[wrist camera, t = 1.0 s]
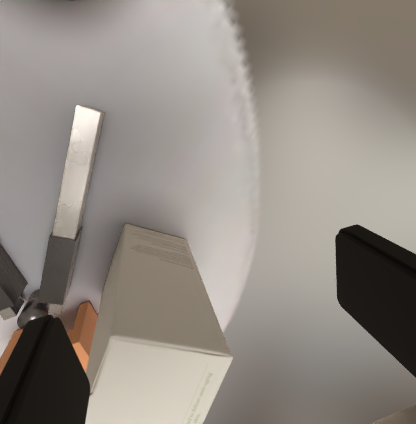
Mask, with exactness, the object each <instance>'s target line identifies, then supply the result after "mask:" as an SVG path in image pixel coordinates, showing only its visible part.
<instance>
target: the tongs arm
mask: <svg viewBox="0 0 416 424" xmlns="http://www.w3.org/2000/svg"><path fill="white" fill-rule="evenodd" d="M103 116H104V112H102V111H99V110H95V109H92V108H89V107H86V106H81V105H76V110H75V115H74V121H73V126H72V132H71V137H70V143H69V148H68V153H67V159H66V164H65V170H64V175H63V180H62V186H61V191H60V197H59V202H58V208H57V213H56V218H55V224H54V229H53V232H52V233H51V235H50V237H49V243H48V248H47V253H46V259H45V264H44V270H43V275H42V281H41V286H40V292H39V297H38V302H40V303H49V304H50V306H49V311H48V312H49V313H59V314H61V312H62V309H63V306H64V304H65V301H66V297H67V292H68V289H69V287H70V283H71V278H72V273H73V268H74V264H75V259H76V254H77V250H78V245H79V240H80V235H81V231H82V227H80V226H81V221H82V217H83V212H84V207H85V202H86V197H87V193H88V188H89V183H90V178H91V174H92V169H93V164H94V159H95V154H96V150H97V145H98V140H99V135H100V130H101V126H102V121H103Z"/></svg>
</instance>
